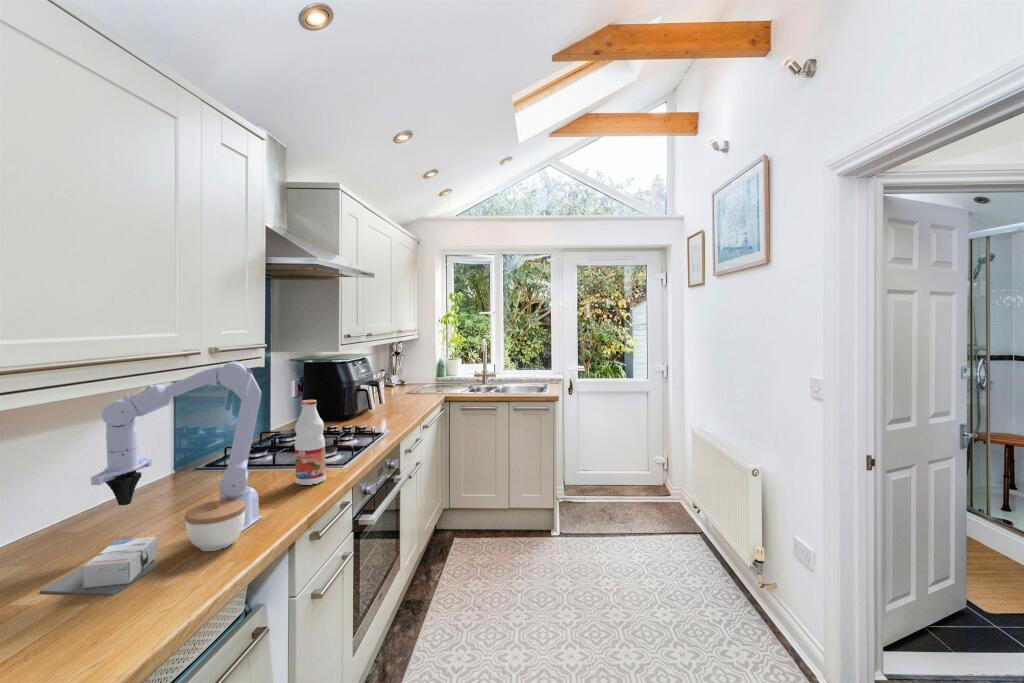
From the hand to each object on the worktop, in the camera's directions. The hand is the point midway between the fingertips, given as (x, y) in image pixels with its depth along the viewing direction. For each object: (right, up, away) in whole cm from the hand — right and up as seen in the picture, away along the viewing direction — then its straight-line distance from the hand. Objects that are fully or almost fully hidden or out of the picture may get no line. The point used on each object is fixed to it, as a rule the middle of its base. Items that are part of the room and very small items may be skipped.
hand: (124, 504), depth 115 cm
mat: (+7, -11, -14) cm, 19 cm away
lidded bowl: (+22, -10, +1) cm, 25 cm away
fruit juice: (+26, -8, +46) cm, 53 cm away
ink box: (+8, -8, -7) cm, 13 cm away
